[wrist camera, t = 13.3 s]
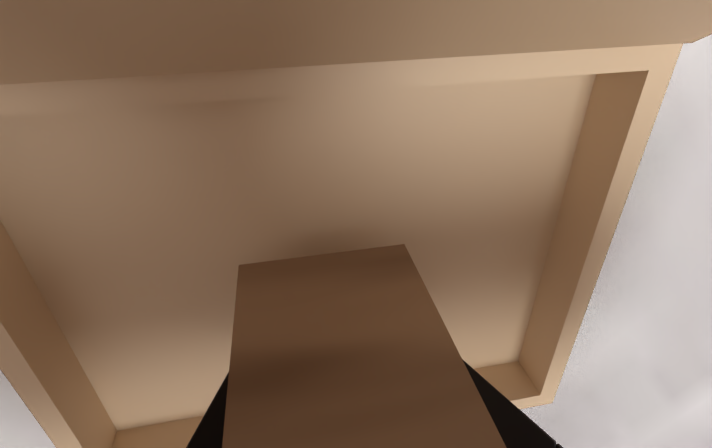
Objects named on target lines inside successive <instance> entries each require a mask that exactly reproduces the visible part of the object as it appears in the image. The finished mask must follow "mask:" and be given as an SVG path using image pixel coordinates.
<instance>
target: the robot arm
mask: <svg viewBox="0 0 712 448" xmlns="http://www.w3.org/2000/svg"><path fill="white" fill-rule="evenodd" d="M462 360H463V359H462ZM463 362H464V364H465V366H466V368H467V370H468V372H469V374H470V376H471V378H472V380H473V382H474V384H475V386H476V388H477V390H478V392H479V394H480V396H481V398H482V400H483V402H484V404H485V406H486V408H487V410H488V412H489V414H490V416H491V418H492V420H493V422H494V424H495V426H496V428H497V430H498V432H499V434H500V436H501V438H502V440H503V442H504V444H505V446H506V448H563V447H562V446H561V445H560V444H556V441H555V440H554V439H553V438H551V437H550V436H549V435H548V434H547V433H546V432H545V431H543V430H542V429H541V428H540V427H539V426H538V425H537V424H536V423H534V422H533V421H532V420H531V419H530V418H529V417H528V416H526V415H525V414H524V413H523V412H522V411H521V410H520V409H519V408H517V407H516V406H515V405H514V404H513V403H512V402H511V401H509V400H508V399H507V398H506V397H505V396H504V395H503V394H501V393H500V392H499V391H498V390H497V389H496V388H495V387H494V386H492V385H491V384H490V383H489V382H488V381H487V380H486V379H484V378H483V377H482V376H481V375H480V374H479V373H478V372H476V371H475V370H474V369H473V368H472V367H471V366H470V365H469V364H467V363H466V362H465V361H464V360H463ZM228 377H229V372H228V374H227V375H226V377H225V379H224V381H223V382H222V384H221V386H220V388H219V389H218V391H217V393H216V395H215V397H214V398H213V400H212V402H211V404H210V405H209V407H208V409H207V411H206V413H205V414H204V416H203V418H202V420H201V422H200V423H199V425H198V427H197V429H196V430H195V432H194V434H193V436H192V438H191V439H190V441H189V443H188V445H187V446H186V448H222V443H223V432H224V421H225V410H226V399H227V388H228Z"/></svg>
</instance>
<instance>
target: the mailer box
mask: <svg viewBox="0 0 712 448" xmlns="http://www.w3.org/2000/svg"><path fill="white" fill-rule="evenodd" d="M682 45H683V43H681V44H664V45H648V46H631V47H615V48H598V49H582V50H565V51H549V52H532V53H516V54H499V55H483V56H466V57H450V58H433V59H417V60H400V61H384V62H367V63H351V64H335V65H318V66H302V67H285V68H269V69H252V70H236V71H219V72H203V73H186V74H170V75H153V76H137V77H120V78H104V79H87V80H71V81H54V82H38V83H21V84H5V85H0V369H1V371H2V372H3V374H4V375H5V376H6V378H7V379H8V381H9V382H10V383H11V385H12V386H13V388H14V389H15V390H16V392H17V393H18V395H19V396H20V397H21V399H22V400H23V402H24V403H25V404H26V406H27V407H28V409H29V410H30V412H31V413H32V414H33V416H34V417H35V419H36V420H37V421H38V423H39V424H40V426H41V427H42V428H43V430H44V431H45V433H46V434H47V435H48V437H49V438H50V440H51V441H52V442H53V444H54V445H55V447H56V448H186V446H187V445H188V443H189V441H190V439H191V438H192V436H193V434H194V432H195V430H196V429H197V427H198V425H199V423H200V422H201V420H202V418H203V416H204V414H205V413H206V411H207V409H208V407H209V405H210V404H211V402H212V400H213V398H214V397H215V395H216V393H217V391H218V389H219V388H220V386H221V384H222V382H223V381H224V379H225V377H226V375H227V374H228V372H229V366H230V355H231V344H232V333H233V322H234V311H235V300H236V289H237V278H238V267H239V265H242V264H250V263H258V262H266V261H273V260H281V259H289V258H297V257H305V256H313V255H321V254H329V253H337V252H345V251H353V250H361V249H369V248H376V247H384V246H392V245H400V244H405V246H406V248H407V250H408V252H409V254H410V256H411V258H412V260H413V262H414V264H415V266H416V268H417V270H418V272H419V274H420V276H421V278H422V280H423V282H424V284H425V286H426V288H427V290H428V292H429V294H430V296H431V298H432V300H433V302H434V304H435V306H436V308H437V310H438V312H439V314H440V316H441V318H442V320H443V322H444V324H445V326H446V328H447V330H448V332H449V334H450V336H451V338H452V340H453V342H454V344H455V346H456V348H457V350H458V352H459V354H460V356H461V358H462V359H463V360H464V361H465V362H466V363H467V364H469V365H470V366H471V367H472V368H473V369H474V370H475V371H476V372H478V373H479V374H480V375H481V376H482V377H483V378H484V379H486V380H487V381H488V382H489V383H490V384H491V385H492V386H494V387H495V388H496V389H497V390H498V391H499V392H500V393H501V394H503V395H504V396H505V397H506V398H507V399H508V400H509V401H511V402H512V403H513V404H514V405H515V406H516V407H517V408H519V409H524V408H529V407H534V406H539V405H545V404H550V403H552V402H553V400H554V397H555V394H556V391H557V389H558V386H559V383H560V380H561V378H562V375H563V372H564V369H565V367H566V364H567V361H568V359H569V356H570V353H571V350H572V348H573V345H574V342H575V339H576V337H577V334H578V331H579V328H580V326H581V323H582V320H583V317H584V315H585V312H586V309H587V306H588V304H589V301H590V298H591V295H592V293H593V290H594V287H595V284H596V282H597V279H598V276H599V273H600V271H601V268H602V265H603V262H604V260H605V257H606V254H607V251H608V249H609V246H610V243H611V240H612V238H613V235H614V232H615V229H616V227H617V224H618V221H619V218H620V216H621V213H622V210H623V207H624V205H625V202H626V199H627V196H628V194H629V191H630V188H631V185H632V183H633V180H634V177H635V175H636V172H637V169H638V166H639V164H640V161H641V158H642V155H643V153H644V150H645V147H646V144H647V142H648V139H649V136H650V133H651V131H652V128H653V125H654V122H655V120H656V117H657V114H658V111H659V109H660V106H661V103H662V100H663V98H664V95H665V92H666V89H667V87H668V84H669V81H670V78H671V76H672V73H673V70H674V67H675V65H676V62H677V59H678V56H679V54H680V51H681V48H682Z"/></svg>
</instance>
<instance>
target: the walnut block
mask: <svg viewBox="0 0 712 448" xmlns="http://www.w3.org/2000/svg"><path fill="white" fill-rule="evenodd" d="M222 448H506V446H505V444H504V442H503V440H502V438H501V436H500V434H499V432H498V430H497V428H496V426H495V424H494V422H493V420H492V418H491V416H490V414H489V412H488V410H487V408H486V406H485V404H484V402H483V400H482V398H481V396H480V394H479V392H478V390H477V388H476V386H475V384H474V382H473V380H472V378H471V376H470V374H469V372H468V370H467V368H466V366H465V364H464V362H463V360H462V358H461V356H460V354H459V352H458V350H457V348H456V346H455V344H454V342H453V340H452V338H451V336H450V334H449V332H448V330H447V328H446V326H445V324H444V322H443V320H442V318H441V316H440V314H439V312H438V310H437V308H436V306H435V304H434V302H433V300H432V298H431V296H430V294H429V292H428V290H427V288H426V286H425V284H424V282H423V280H422V278H421V276H420V274H419V272H418V270H417V268H416V266H415V264H414V262H413V260H412V258H411V256H410V254H409V252H408V250H407V248H406V246H405V244H400V245H392V246H384V247H376V248H369V249H361V250H353V251H345V252H337V253H329V254H321V255H313V256H305V257H297V258H289V259H281V260H273V261H266V262H258V263H250V264H242V265H239V267H238V278H237V289H236V300H235V311H234V322H233V333H232V344H231V355H230V366H229V377H228V388H227V399H226V410H225V421H224V432H223V443H222Z"/></svg>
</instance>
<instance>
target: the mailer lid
mask: <svg viewBox="0 0 712 448" xmlns="http://www.w3.org/2000/svg"><path fill="white" fill-rule="evenodd" d="M711 34H712V0H0V85H5V84H21V83H38V82H54V81H71V80H87V79H104V78H120V77H137V76H153V75H170V74H186V73H203V72H219V71H236V70H252V69H269V68H285V67H302V66H318V65H335V64H351V63H367V62H384V61H400V60H417V59H433V58H450V57H466V56H483V55H499V54H516V53H532V52H549V51H565V50H582V49H598V48H615V47H631V46H648V45H664V44H681V43H693V42H695V41H697V40H700V39H702V38H704V37H706V36H709V35H711Z"/></svg>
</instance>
